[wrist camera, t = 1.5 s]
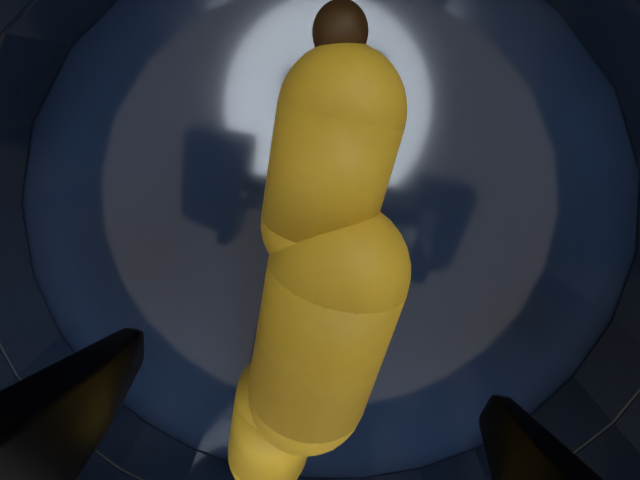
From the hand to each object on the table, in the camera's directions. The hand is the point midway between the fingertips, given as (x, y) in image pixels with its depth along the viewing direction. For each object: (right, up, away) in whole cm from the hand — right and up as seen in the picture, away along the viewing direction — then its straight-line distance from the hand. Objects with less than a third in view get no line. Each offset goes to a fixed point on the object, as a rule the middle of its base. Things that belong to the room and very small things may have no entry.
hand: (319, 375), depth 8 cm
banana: (0, +1, +3) cm, 3 cm away
